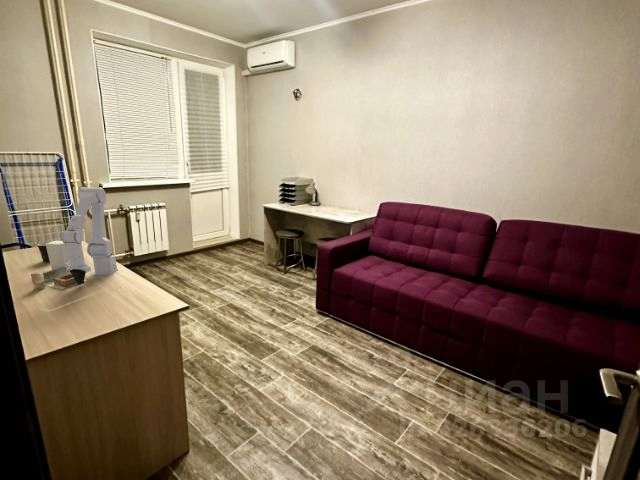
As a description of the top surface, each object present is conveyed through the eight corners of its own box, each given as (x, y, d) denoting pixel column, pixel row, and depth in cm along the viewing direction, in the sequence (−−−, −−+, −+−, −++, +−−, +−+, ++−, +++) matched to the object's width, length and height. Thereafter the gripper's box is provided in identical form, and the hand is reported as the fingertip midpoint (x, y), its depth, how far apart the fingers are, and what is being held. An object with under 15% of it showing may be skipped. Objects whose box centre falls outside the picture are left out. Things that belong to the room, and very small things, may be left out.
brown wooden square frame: (83, 281, 162) (82, 275, 161) (65, 287, 154) (64, 281, 154) (72, 278, 164) (71, 272, 164) (54, 284, 157) (53, 278, 156)
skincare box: (76, 268, 178) (71, 240, 174) (65, 273, 172) (60, 244, 168) (61, 267, 179) (56, 239, 175) (50, 272, 173) (44, 243, 168)
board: (87, 281, 163) (87, 280, 163) (61, 290, 153) (61, 289, 153) (67, 276, 169) (67, 274, 169) (40, 284, 158) (40, 283, 158)
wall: (67, 276, 167) (65, 266, 166) (45, 283, 158) (43, 273, 157) (65, 275, 168) (63, 266, 166) (43, 282, 159) (41, 272, 157)
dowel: (47, 287, 155) (44, 271, 153) (41, 291, 151) (38, 274, 149) (38, 287, 155) (34, 271, 152) (32, 291, 151) (28, 275, 149)
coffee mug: (43, 258, 191) (39, 242, 188) (61, 257, 194) (58, 240, 192) (36, 265, 181) (33, 248, 178) (56, 263, 184) (53, 246, 182)
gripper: (55, 256, 151) (61, 284, 155) (77, 261, 146) (82, 289, 150) (72, 251, 158) (76, 278, 161) (93, 256, 153) (97, 284, 156)
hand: (80, 283), depth 156 cm, fingers closed
